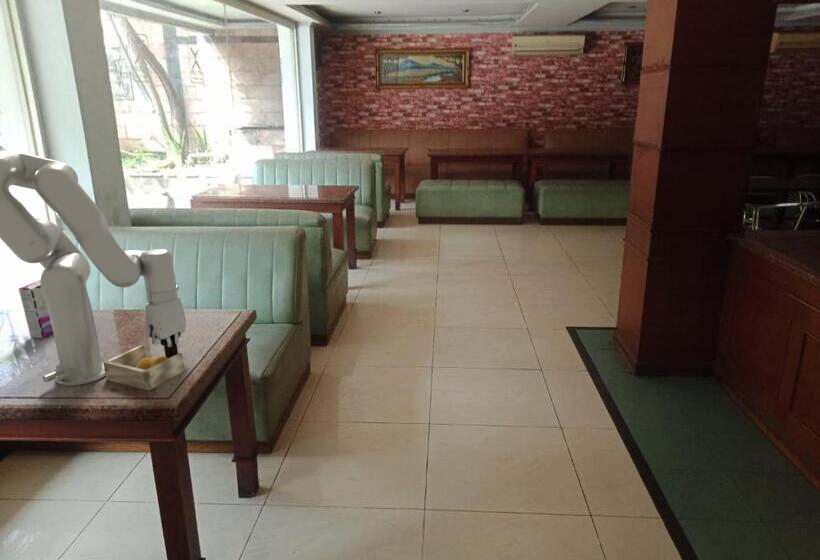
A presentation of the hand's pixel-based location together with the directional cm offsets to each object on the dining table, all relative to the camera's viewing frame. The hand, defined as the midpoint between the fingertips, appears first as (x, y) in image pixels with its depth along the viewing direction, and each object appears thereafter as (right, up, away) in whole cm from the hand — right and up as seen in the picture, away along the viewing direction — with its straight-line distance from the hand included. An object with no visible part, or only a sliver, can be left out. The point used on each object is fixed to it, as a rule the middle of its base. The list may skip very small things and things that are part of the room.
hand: (172, 357), depth 160 cm
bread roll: (-3, -3, -5) cm, 7 cm away
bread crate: (-4, -4, -7) cm, 9 cm away
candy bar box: (-48, +5, +23) cm, 54 cm away
